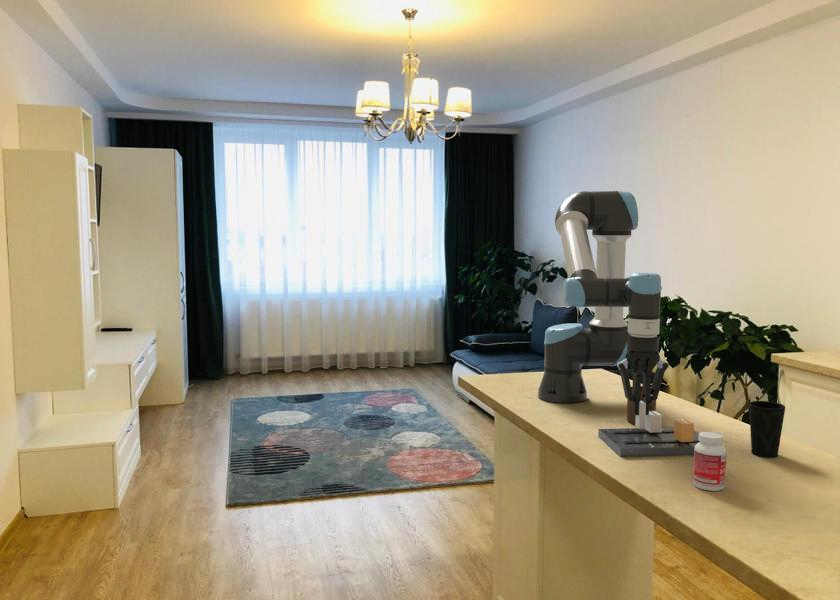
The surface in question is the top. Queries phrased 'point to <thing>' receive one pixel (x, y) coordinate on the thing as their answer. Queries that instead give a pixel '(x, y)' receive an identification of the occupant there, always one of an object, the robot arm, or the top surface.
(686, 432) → the fader
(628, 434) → the console
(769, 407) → the cup
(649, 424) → the fader
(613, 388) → the top surface
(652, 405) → the mug
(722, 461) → the pill bottle
